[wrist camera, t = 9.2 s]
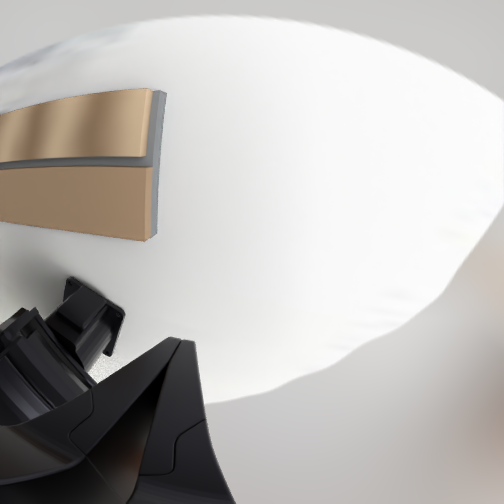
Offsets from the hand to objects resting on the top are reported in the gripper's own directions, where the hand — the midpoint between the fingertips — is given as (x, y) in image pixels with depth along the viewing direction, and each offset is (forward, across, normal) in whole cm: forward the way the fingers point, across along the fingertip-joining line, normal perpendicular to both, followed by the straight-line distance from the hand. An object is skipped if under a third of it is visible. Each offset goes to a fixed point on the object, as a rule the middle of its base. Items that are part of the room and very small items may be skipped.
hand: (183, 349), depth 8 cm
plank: (+11, +15, -7) cm, 20 cm away
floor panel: (+12, +16, -4) cm, 20 cm away
